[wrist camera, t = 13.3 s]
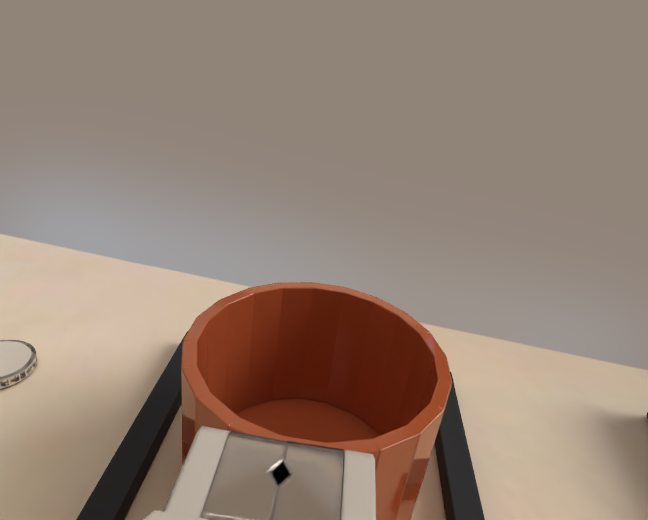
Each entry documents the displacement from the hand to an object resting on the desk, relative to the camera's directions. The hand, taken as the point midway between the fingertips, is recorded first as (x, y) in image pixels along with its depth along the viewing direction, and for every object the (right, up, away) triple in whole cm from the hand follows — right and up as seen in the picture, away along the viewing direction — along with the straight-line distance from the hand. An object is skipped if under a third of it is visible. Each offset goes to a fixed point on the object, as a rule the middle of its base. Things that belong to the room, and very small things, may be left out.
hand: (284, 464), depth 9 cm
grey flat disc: (-19, -3, +21) cm, 28 cm away
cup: (-1, -8, +16) cm, 18 cm away
